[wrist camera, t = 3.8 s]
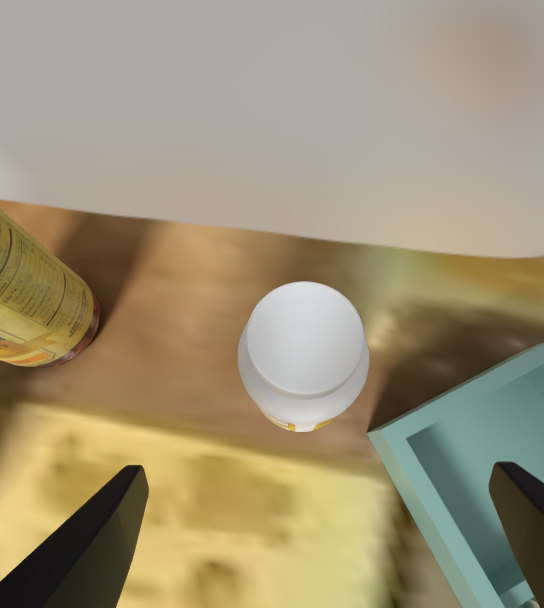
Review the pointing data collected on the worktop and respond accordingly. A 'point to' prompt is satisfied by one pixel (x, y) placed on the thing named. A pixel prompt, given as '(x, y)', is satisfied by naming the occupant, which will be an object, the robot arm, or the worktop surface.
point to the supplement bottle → (303, 355)
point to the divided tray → (470, 473)
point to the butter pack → (532, 603)
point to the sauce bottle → (40, 303)
